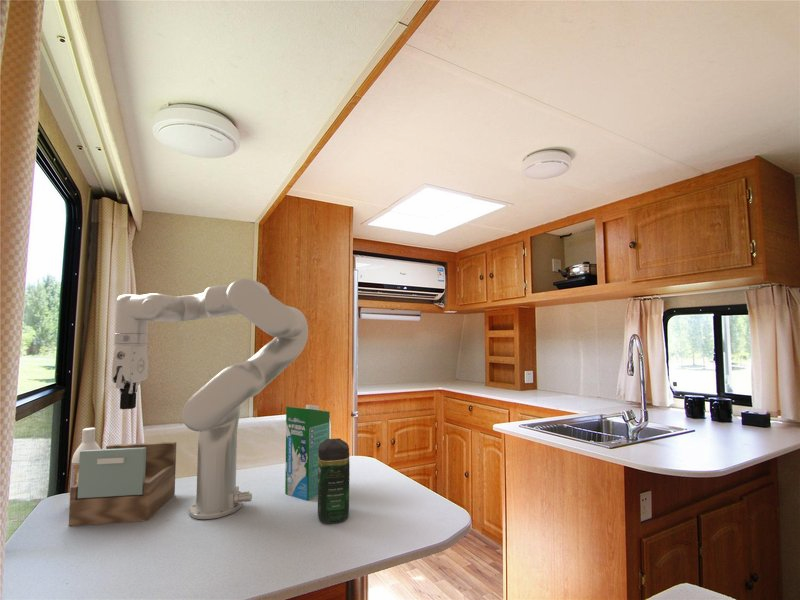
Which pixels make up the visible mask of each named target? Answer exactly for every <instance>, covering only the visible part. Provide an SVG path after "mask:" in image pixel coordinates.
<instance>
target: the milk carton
mask: <svg viewBox="0 0 800 600" xmlns="http://www.w3.org/2000/svg"><path fill="white" fill-rule="evenodd" d="M285 408H286V409H285V478H284V479H285V482H284V483H285V485H284V486H285V487H284V488H285V490H284V493H285V495H288V496H290V497H295V498H298V499H302V500H305V501H310V500H312V499H314V498H315V497H318V452H319V450H318V447H319V445H320V444H321V443H322V442H323V441H325V440H326V439H331V438H330V436H331V435H330V430H331V429H330V424H331V423H330V422H331V421H330V420H331V419H330V418H331V416H330V415H331V414H330V412H331V411H327V410H319V409H320V406H319V405H313V404H306V405H305V408H303V407H295V406H288V405H287V406H285Z"/></svg>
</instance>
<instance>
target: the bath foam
mask: <svg viewBox="0 0 800 600" xmlns="http://www.w3.org/2000/svg"><path fill="white" fill-rule="evenodd" d="M81 434H82V435H81V443H80V445H78V446H77V448H76V450H75V451H74V453H73V455H72V458H71V465H70V466H71V469H70V485H69V490H70V489H71V487H73V486H74V485H76V484H78V477H79V458H80V451H82V450H98V449H102V448H101V446H100V445H99V444H98V442H97V441H96V427H85V428H83V429H82V431H81ZM69 504H70V501H69Z"/></svg>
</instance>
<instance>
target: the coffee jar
mask: <svg viewBox="0 0 800 600" xmlns="http://www.w3.org/2000/svg"><path fill="white" fill-rule="evenodd" d="M318 450H319V452H318V496H317V517H318V520H319V521H320V523H321V522H322V523H326V524H338V523H340V522H343V521H347V519H348V518H349V516H350V475H351V473H350V468H351V467H350V446H349V444H348V442H347V441H345V440H343V439H341V438H330V439H326V440H325V441H323V442H322V443H321V444H320V445H319V447H318Z"/></svg>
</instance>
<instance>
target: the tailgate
mask: <svg viewBox="0 0 800 600" xmlns="http://www.w3.org/2000/svg"><path fill="white" fill-rule="evenodd" d="M145 467H146V447H142V448H120V449H106V448H104V449H103V448H101V449H98V450H82V451H80V458H79V477H78V496H77V498H92V497H108V496H125V495H141V494H143V493H144V483H145Z"/></svg>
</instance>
